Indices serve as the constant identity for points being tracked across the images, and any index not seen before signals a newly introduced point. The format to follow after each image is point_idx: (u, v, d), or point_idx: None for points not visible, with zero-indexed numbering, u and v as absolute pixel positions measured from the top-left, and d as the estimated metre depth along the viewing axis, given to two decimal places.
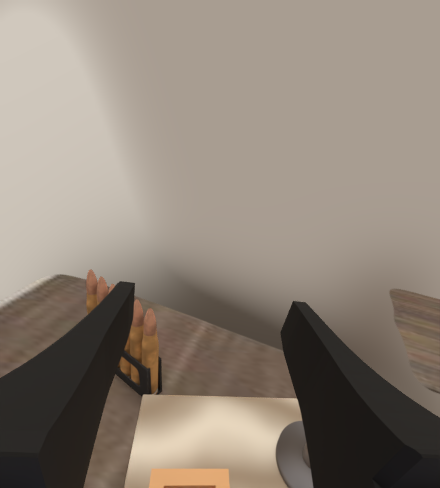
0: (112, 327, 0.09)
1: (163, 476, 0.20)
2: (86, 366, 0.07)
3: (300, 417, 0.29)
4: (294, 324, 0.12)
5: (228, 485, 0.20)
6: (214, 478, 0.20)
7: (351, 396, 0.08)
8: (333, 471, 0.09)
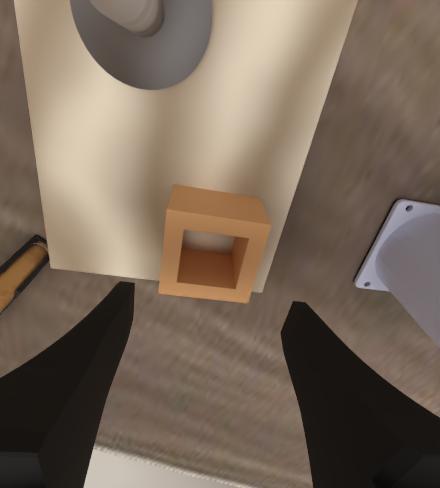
0: (112, 327, 0.09)
1: (167, 282, 0.17)
2: (86, 366, 0.07)
3: None
4: (294, 324, 0.12)
5: (186, 213, 0.15)
6: (176, 229, 0.15)
7: (351, 396, 0.08)
8: (333, 471, 0.09)
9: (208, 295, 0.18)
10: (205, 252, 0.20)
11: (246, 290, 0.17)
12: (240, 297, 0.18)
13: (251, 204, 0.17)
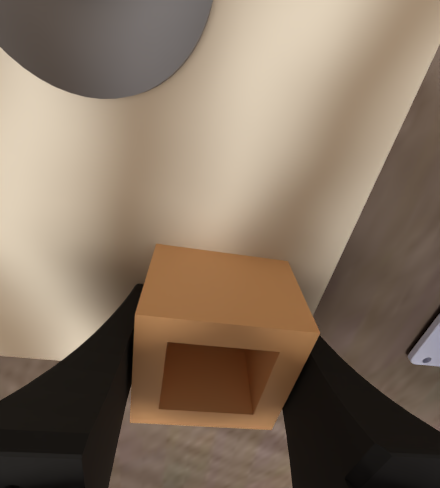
0: None
1: (143, 409, 0.10)
2: (115, 368, 0.07)
3: None
4: None
5: (170, 320, 0.08)
6: (153, 342, 0.09)
7: (327, 394, 0.08)
8: (311, 471, 0.09)
9: (209, 423, 0.11)
10: None
11: (269, 415, 0.11)
12: (260, 423, 0.11)
13: (278, 278, 0.11)
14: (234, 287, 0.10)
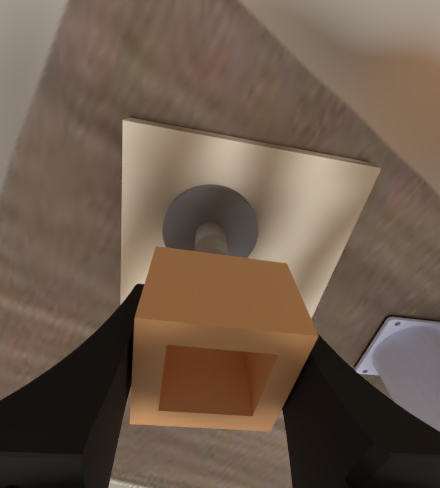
0: None
1: (143, 411, 0.10)
2: (115, 368, 0.07)
3: (152, 217, 0.19)
4: None
5: (169, 324, 0.08)
6: (153, 344, 0.09)
7: (327, 394, 0.08)
8: (310, 470, 0.09)
9: (208, 424, 0.11)
10: None
11: (268, 416, 0.11)
12: (259, 425, 0.11)
13: (277, 280, 0.11)
14: (233, 290, 0.10)
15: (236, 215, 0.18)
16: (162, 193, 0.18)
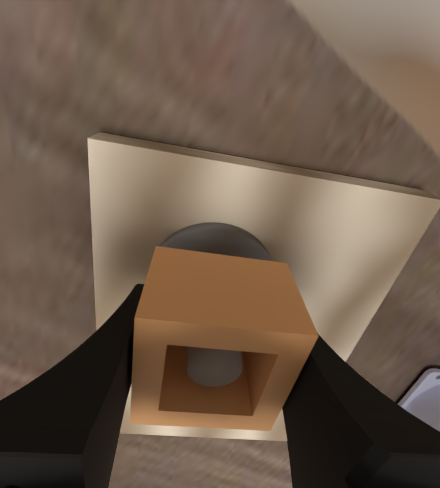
0: None
1: (143, 411, 0.10)
2: (115, 368, 0.07)
3: (134, 263, 0.14)
4: None
5: (169, 323, 0.08)
6: (153, 344, 0.09)
7: (327, 394, 0.08)
8: (310, 471, 0.09)
9: (208, 424, 0.11)
10: None
11: (268, 416, 0.11)
12: (259, 424, 0.11)
13: (277, 280, 0.11)
14: (233, 290, 0.10)
15: None
16: (147, 234, 0.13)
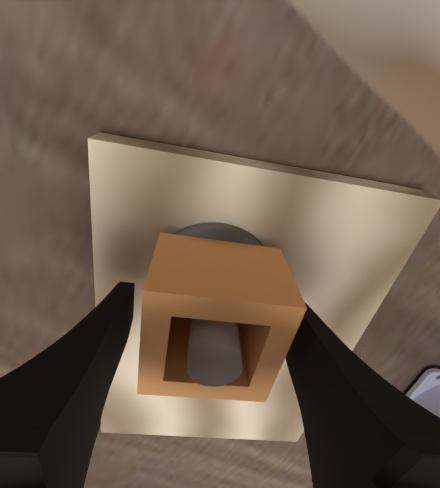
0: (112, 327, 0.09)
1: (149, 381, 0.11)
2: (86, 366, 0.07)
3: (134, 263, 0.14)
4: None
5: (173, 296, 0.09)
6: (158, 316, 0.10)
7: (351, 396, 0.08)
8: (333, 471, 0.09)
9: (209, 395, 0.12)
10: None
11: (263, 387, 0.12)
12: (255, 396, 0.12)
13: (271, 262, 0.12)
14: (231, 270, 0.11)
15: None
16: (147, 234, 0.13)
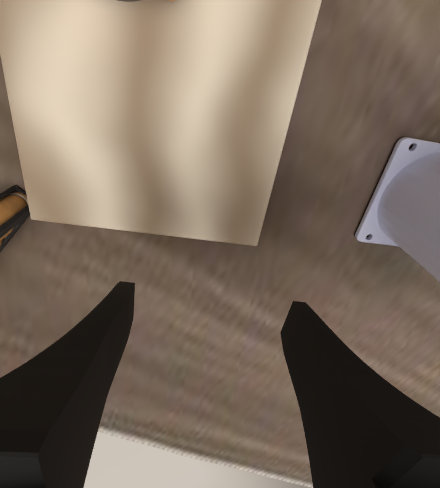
0: (112, 327, 0.09)
1: None
2: (86, 366, 0.07)
3: None
4: (294, 324, 0.12)
5: None
6: None
7: (351, 396, 0.08)
8: (333, 471, 0.09)
9: None
10: None
11: None
12: None
13: None
14: None
15: None
16: None
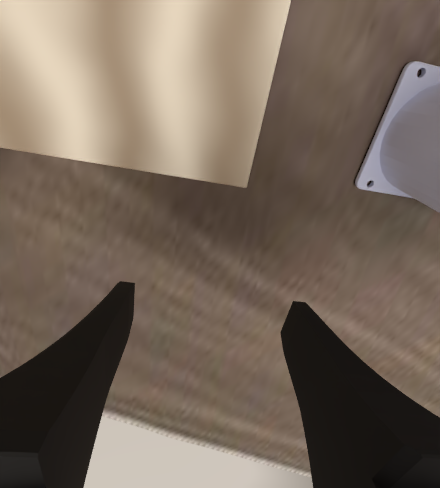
0: (112, 327, 0.09)
1: None
2: (86, 366, 0.07)
3: None
4: (294, 324, 0.12)
5: None
6: None
7: (351, 396, 0.08)
8: (333, 471, 0.09)
9: None
10: None
11: None
12: None
13: None
14: None
15: None
16: None
